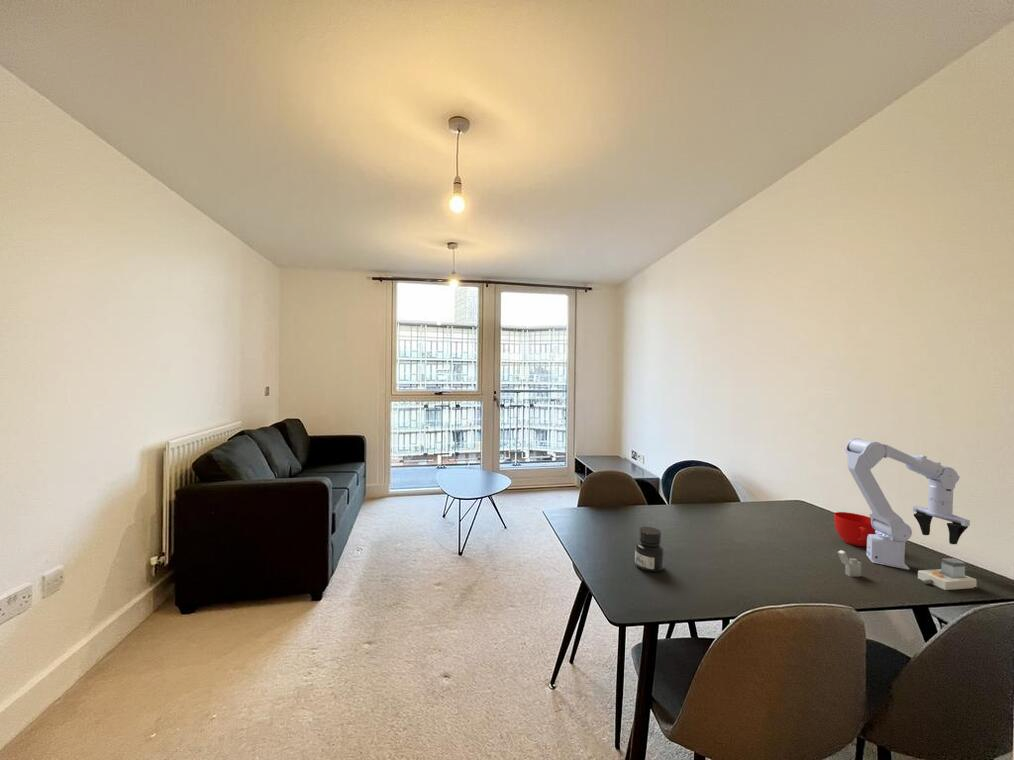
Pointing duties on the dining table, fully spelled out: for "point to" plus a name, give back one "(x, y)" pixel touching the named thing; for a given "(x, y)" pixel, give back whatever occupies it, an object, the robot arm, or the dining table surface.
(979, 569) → the dining table surface
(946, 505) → the robot arm
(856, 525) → the ceramic cup
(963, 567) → the plug
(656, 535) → the ink bottle
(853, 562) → the lighter
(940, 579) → the white rectangular frame
